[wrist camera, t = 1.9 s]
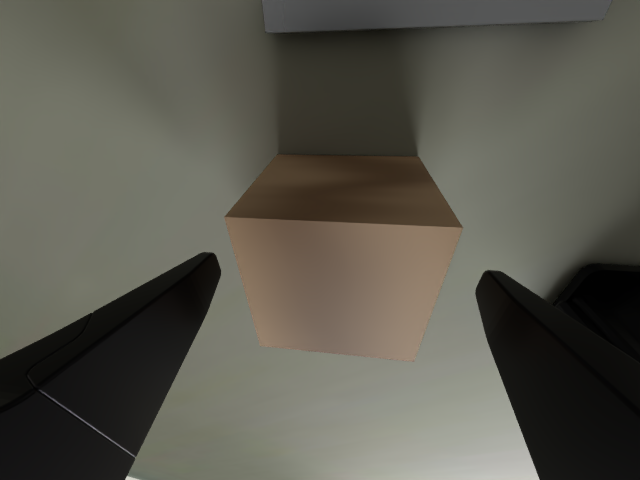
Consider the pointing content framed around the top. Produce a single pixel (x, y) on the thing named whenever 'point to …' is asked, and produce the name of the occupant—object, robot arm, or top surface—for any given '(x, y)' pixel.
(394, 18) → the plate
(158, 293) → the robot arm
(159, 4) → the top surface
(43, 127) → the top surface
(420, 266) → the light brown cube-like block
